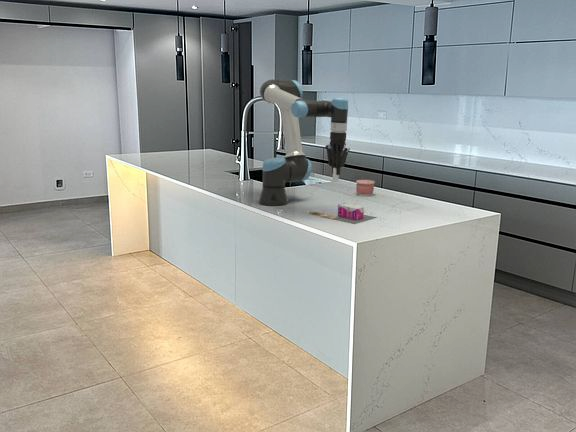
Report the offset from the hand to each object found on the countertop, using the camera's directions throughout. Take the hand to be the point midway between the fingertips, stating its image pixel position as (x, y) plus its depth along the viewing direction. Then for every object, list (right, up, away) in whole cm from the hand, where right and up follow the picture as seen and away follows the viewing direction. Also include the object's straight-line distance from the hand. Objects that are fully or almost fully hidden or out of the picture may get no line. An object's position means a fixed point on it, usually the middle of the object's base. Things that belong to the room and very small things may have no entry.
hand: (335, 181), depth 265 cm
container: (+21, -5, +54) cm, 58 cm away
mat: (+9, -18, -4) cm, 20 cm away
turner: (-6, -17, -2) cm, 18 cm away
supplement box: (+3, -13, 0) cm, 14 cm away
